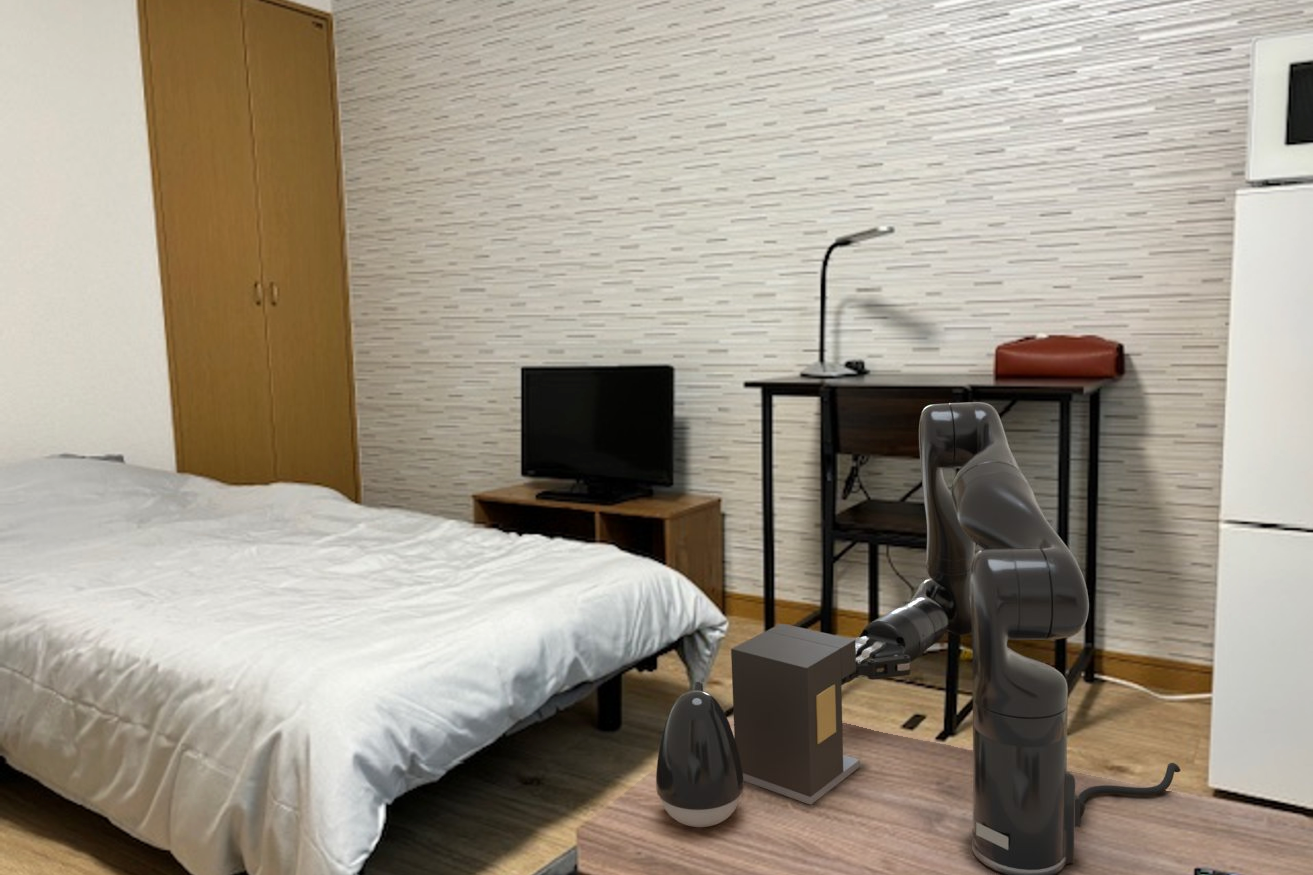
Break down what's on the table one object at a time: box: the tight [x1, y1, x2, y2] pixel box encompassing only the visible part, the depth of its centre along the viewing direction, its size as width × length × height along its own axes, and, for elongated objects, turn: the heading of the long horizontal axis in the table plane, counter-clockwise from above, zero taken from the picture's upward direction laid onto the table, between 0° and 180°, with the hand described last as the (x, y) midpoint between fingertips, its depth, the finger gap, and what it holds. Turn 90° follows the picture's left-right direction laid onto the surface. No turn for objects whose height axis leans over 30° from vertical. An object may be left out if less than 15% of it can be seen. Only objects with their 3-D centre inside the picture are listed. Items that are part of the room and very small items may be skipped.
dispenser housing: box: [730, 623, 861, 805], centre depth 123 cm, size 12×11×17 cm
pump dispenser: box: [655, 681, 745, 828], centre depth 115 cm, size 10×10×15 cm
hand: (835, 677), depth 130 cm, fingers closed
